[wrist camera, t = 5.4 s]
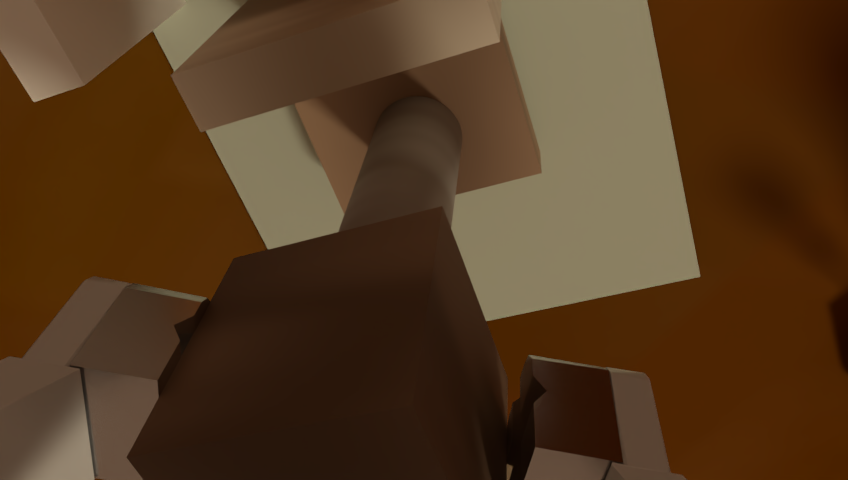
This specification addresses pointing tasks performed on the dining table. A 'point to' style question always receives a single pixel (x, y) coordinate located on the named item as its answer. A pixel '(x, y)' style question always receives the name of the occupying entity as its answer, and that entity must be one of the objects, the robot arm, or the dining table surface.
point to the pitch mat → (522, 198)
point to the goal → (73, 38)
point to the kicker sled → (353, 253)
